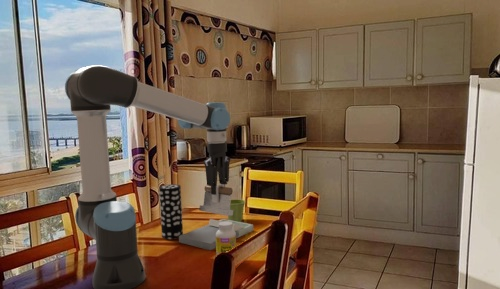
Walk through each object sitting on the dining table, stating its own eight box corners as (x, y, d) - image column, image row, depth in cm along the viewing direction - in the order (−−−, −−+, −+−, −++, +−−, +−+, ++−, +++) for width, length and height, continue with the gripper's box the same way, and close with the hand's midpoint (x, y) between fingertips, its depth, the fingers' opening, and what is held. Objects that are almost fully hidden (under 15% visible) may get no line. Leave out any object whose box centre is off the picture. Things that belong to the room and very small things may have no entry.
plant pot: (221, 219, 186) (220, 200, 185) (240, 216, 190) (240, 198, 189) (229, 225, 177) (228, 205, 176) (249, 221, 181) (248, 202, 180)
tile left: (219, 227, 165) (220, 221, 166) (208, 225, 169) (209, 218, 169) (228, 229, 170) (229, 223, 170) (217, 227, 173) (219, 221, 174)
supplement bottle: (218, 265, 134) (217, 227, 133) (215, 258, 141) (213, 221, 139) (238, 262, 136) (237, 224, 135) (234, 255, 143) (232, 219, 141)
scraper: (226, 215, 156) (229, 187, 157) (199, 210, 165) (202, 184, 165) (232, 215, 160) (235, 188, 160) (205, 210, 168) (208, 184, 169)
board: (210, 250, 148) (210, 243, 148) (179, 242, 158) (178, 235, 158) (238, 237, 161) (237, 231, 161) (207, 230, 171) (207, 224, 170)
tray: (238, 237, 161) (237, 231, 161) (207, 230, 171) (207, 224, 170) (253, 230, 169) (253, 224, 169) (223, 224, 178) (223, 218, 178)
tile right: (233, 230, 160) (235, 224, 161) (222, 227, 164) (223, 221, 165) (242, 232, 165) (244, 226, 166) (231, 230, 169) (232, 224, 169)
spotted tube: (185, 232, 170) (182, 184, 167) (179, 239, 161) (177, 188, 159) (165, 232, 170) (162, 184, 168) (159, 239, 162) (156, 189, 160)
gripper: (210, 144, 152) (211, 207, 155) (237, 140, 165) (238, 198, 167) (195, 143, 157) (197, 204, 159) (223, 140, 170) (224, 196, 172)
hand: (218, 201), depth 163 cm, fingers closed on scraper, 3 cm apart
